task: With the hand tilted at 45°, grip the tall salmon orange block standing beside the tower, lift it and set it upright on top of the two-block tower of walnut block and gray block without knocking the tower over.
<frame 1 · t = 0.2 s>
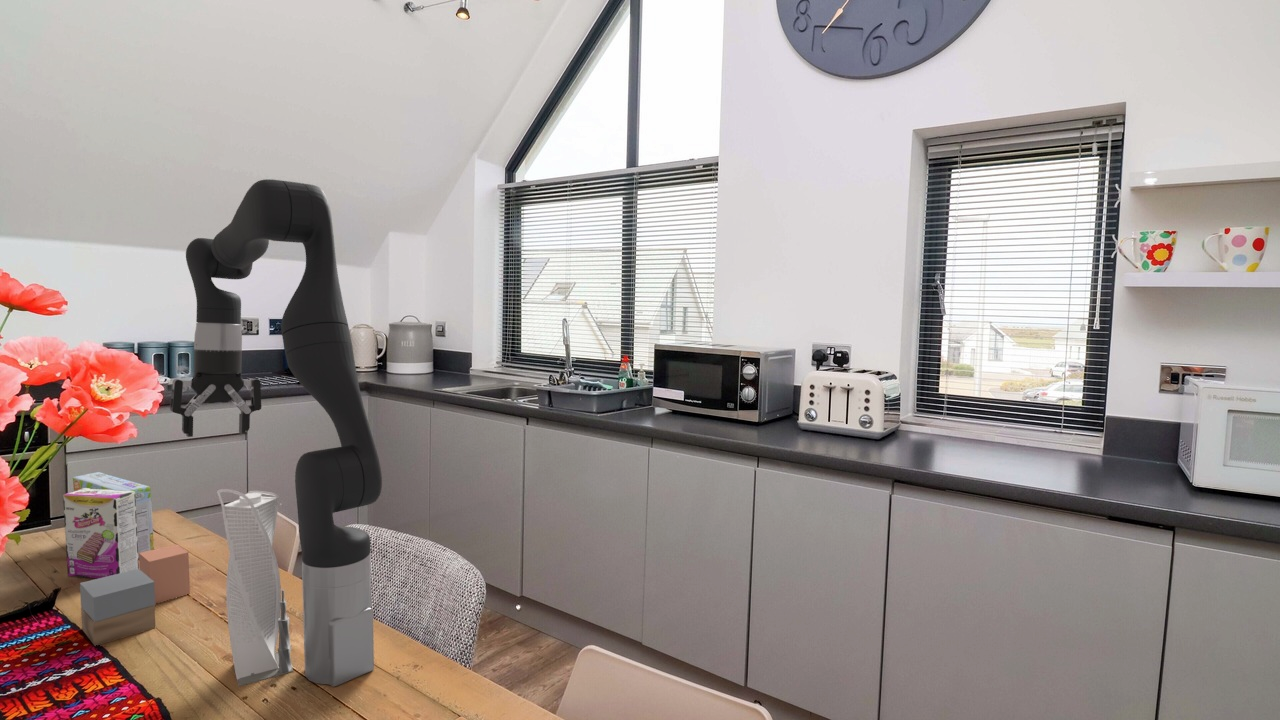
hand: (216, 434, 127), 29 cm above the table, tool pointing down, fingers open, 8 cm apart
twisted tower model: (257, 670, 101), on the table
walnut block: (119, 629, 112), on the table, touching gray block
snack box: (115, 550, 146), on the table
candy bar box: (103, 575, 133), on the table
gray block: (118, 605, 112), point 4 cm above the table, touching walnut block
salmon orange block: (165, 595, 125), on the table
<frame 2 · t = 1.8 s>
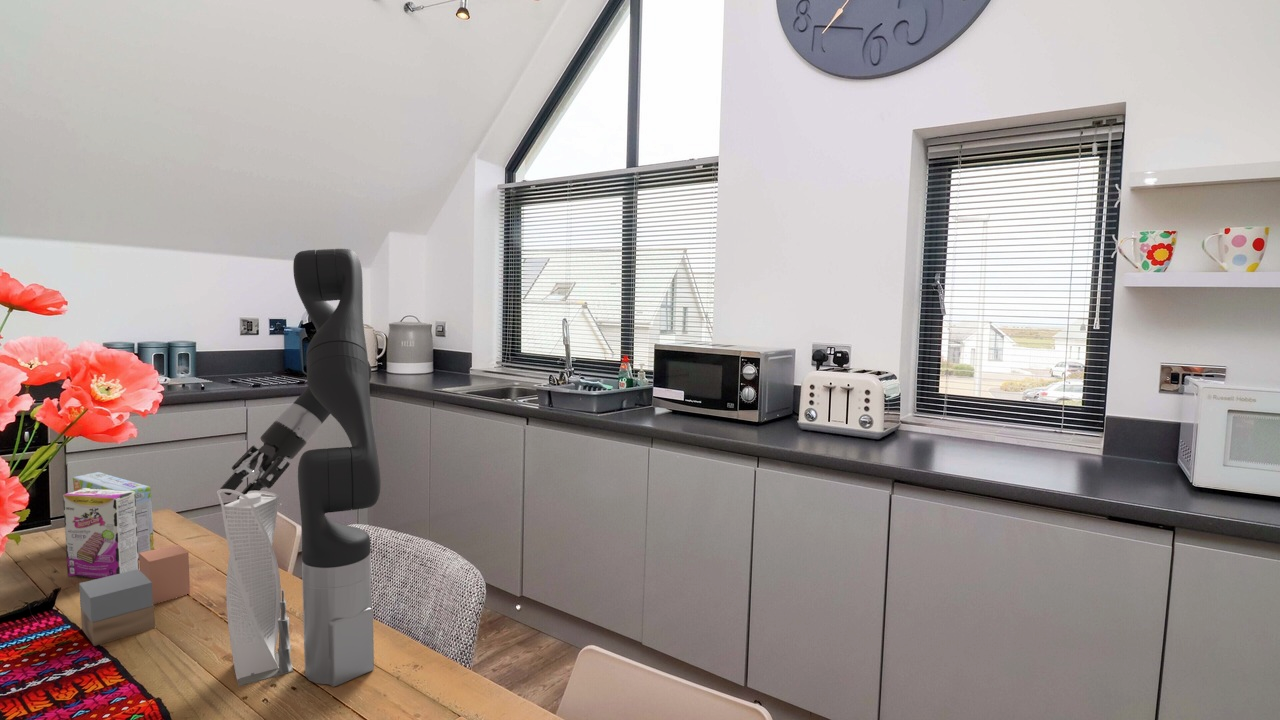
hand: (232, 497, 132), 16 cm above the table, tool tilted 45°, fingers open, 8 cm apart
nothing on the table moved.
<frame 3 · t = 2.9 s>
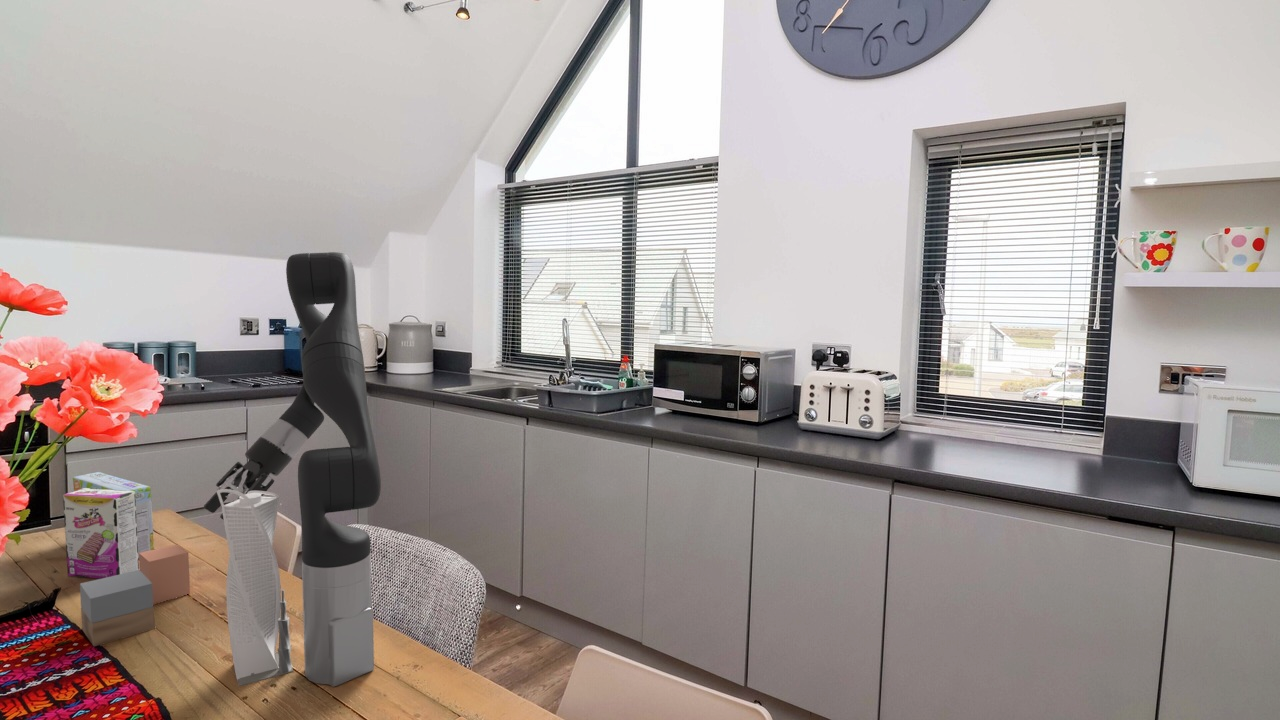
hand: (216, 515, 130), 13 cm above the table, tool tilted 45°, fingers open, 8 cm apart
nothing on the table moved.
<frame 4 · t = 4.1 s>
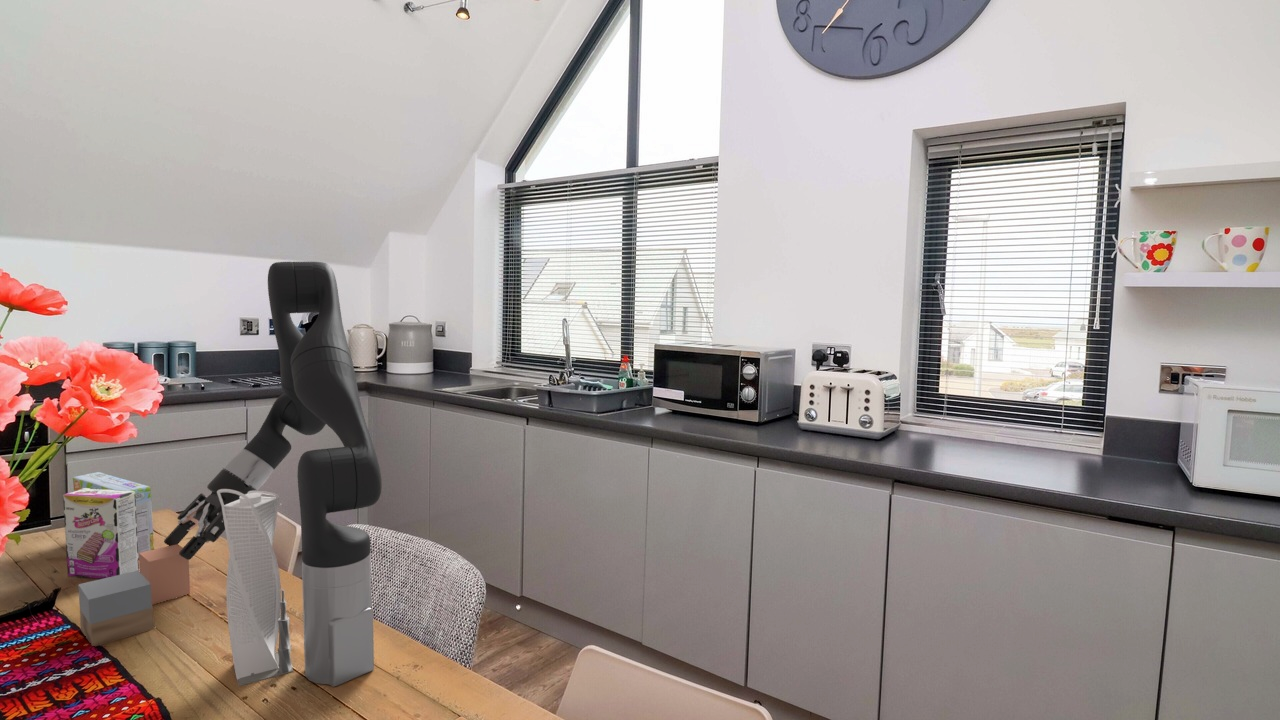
hand: (175, 551, 126), 8 cm above the table, tool tilted 45°, fingers open, 8 cm apart
nothing on the table moved.
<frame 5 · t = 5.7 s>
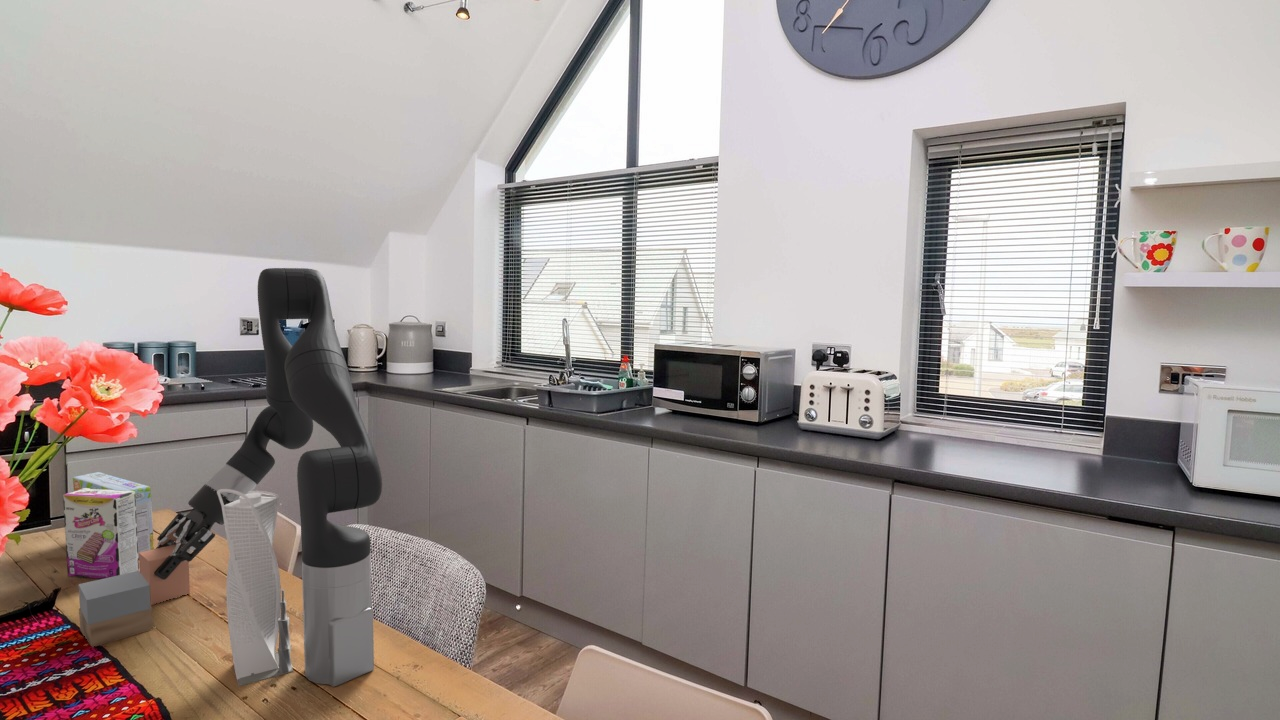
hand: (153, 571, 123), 5 cm above the table, tool tilted 45°, fingers closed on salmon orange block, 6 cm apart
salmon orange block: (165, 594, 125), on the table, touching gripper
everything else where it was.
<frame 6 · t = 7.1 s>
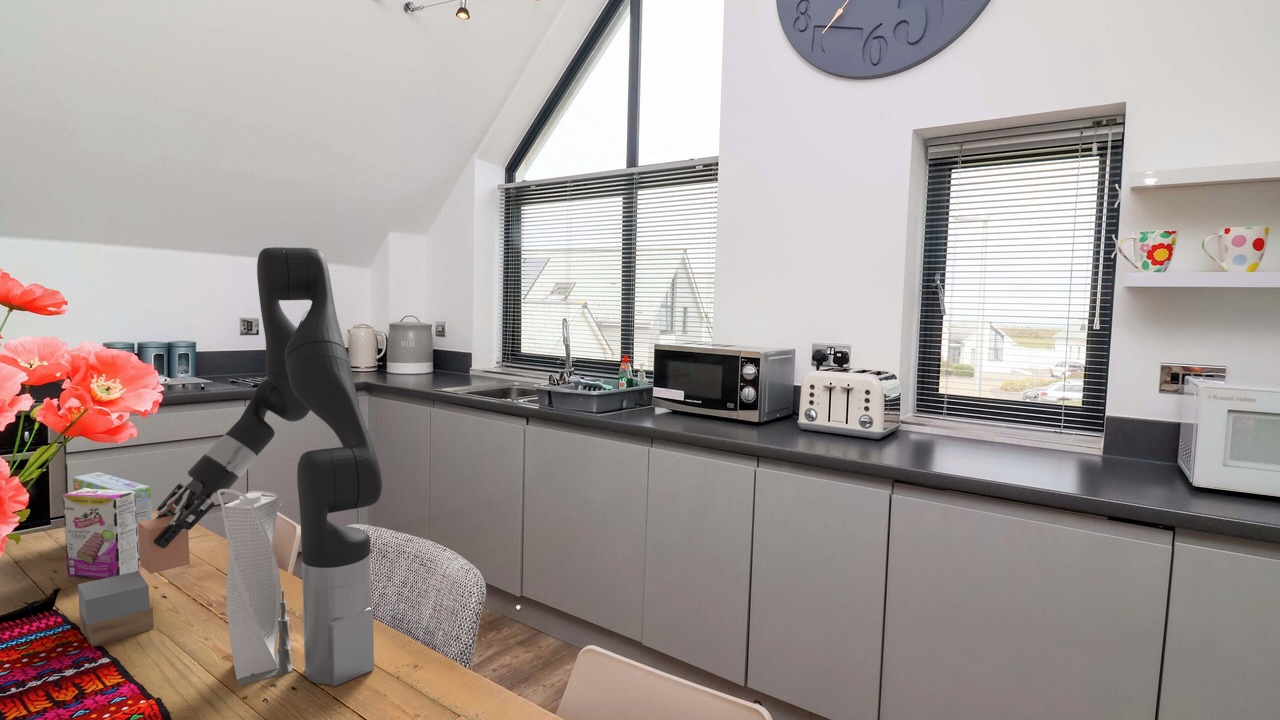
hand: (152, 541, 122), 11 cm above the table, tool tilted 45°, fingers closed on salmon orange block, 6 cm apart
walnut block: (117, 631, 112), on the table
gray block: (114, 608, 111), point 4 cm above the table
salmon orange block: (165, 564, 124), point 6 cm above the table, touching gripper
everything else where it was.
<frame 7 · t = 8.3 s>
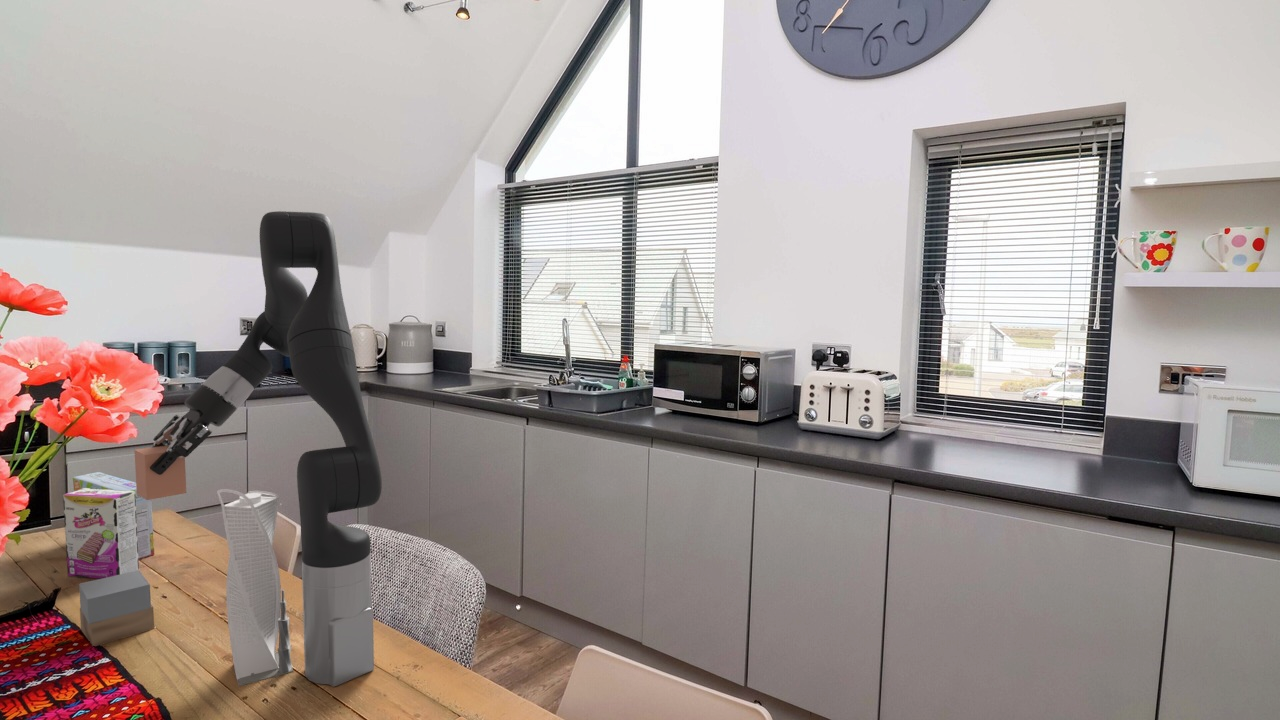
hand: (149, 468, 121), 24 cm above the table, tool tilted 45°, fingers closed on salmon orange block, 6 cm apart
walnut block: (117, 630, 112), on the table, touching gray block
gray block: (115, 607, 111), point 4 cm above the table, touching walnut block
salmon orange block: (161, 493, 123), point 19 cm above the table, touching gripper
everything else where it was.
when the fingers open (14 cm above the table, at t = 13.4 s): salmon orange block drops 1 cm, resting on gray block.
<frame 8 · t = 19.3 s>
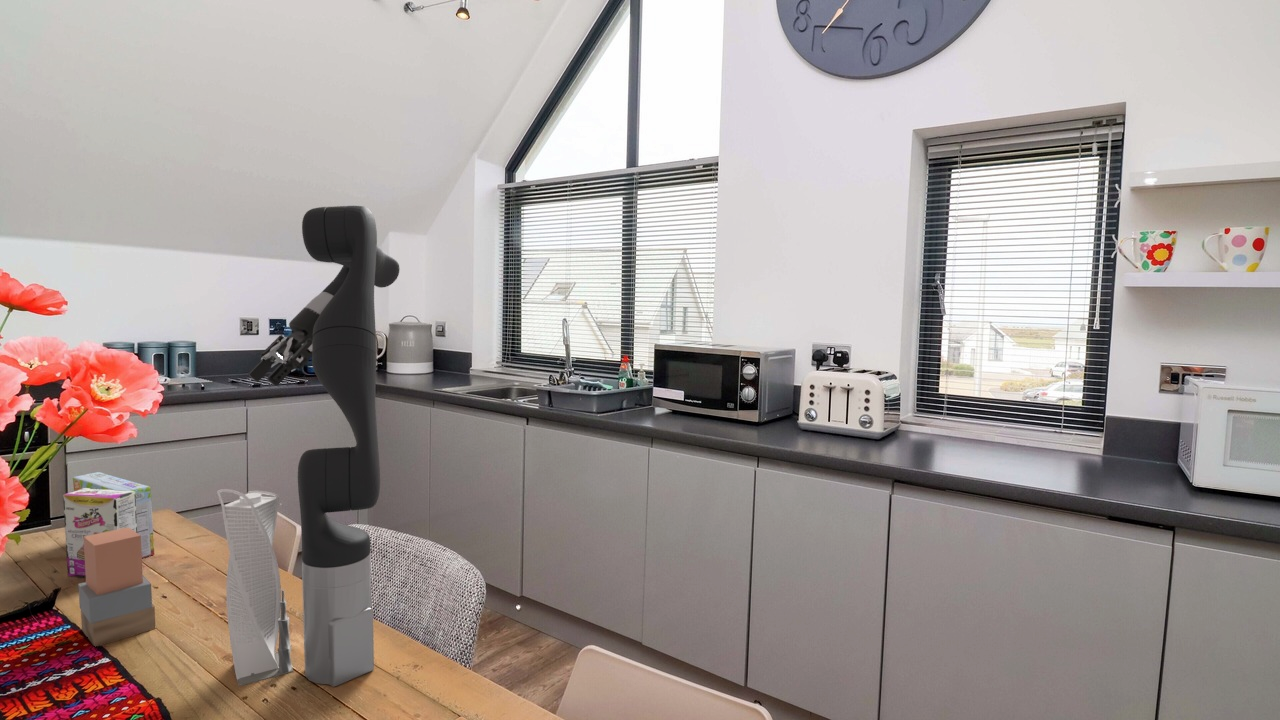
hand: (261, 380, 130), 39 cm above the table, tool tilted 45°, fingers open, 8 cm apart
gray block: (116, 607, 111), point 4 cm above the table, touching salmon orange block, walnut block
salmon orange block: (114, 583, 111), point 8 cm above the table, touching gray block
everything else where it was.
at the end: salmon orange block 0.3 cm off-centre on the walnut block, point 8.0 cm above the walnut block's base; salmon orange block tilted 0°; gray block 0.3 cm off-centre on the walnut block, point 4.0 cm above the walnut block's base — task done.
